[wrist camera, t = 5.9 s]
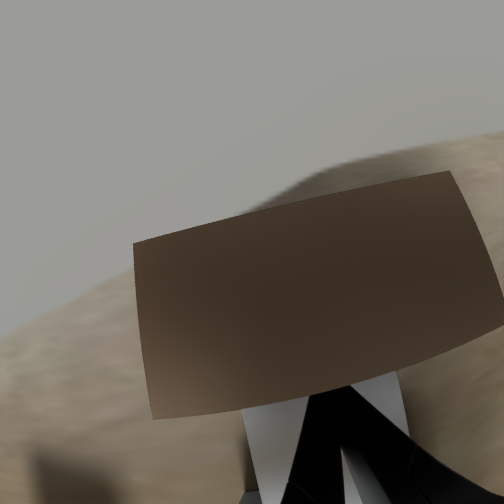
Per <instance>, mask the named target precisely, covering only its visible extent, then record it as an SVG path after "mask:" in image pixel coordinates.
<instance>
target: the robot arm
mask: <svg viewBox="0 0 504 504" xmlns="http://www.w3.org/2000/svg"><path fill="white" fill-rule="evenodd" d="M416 446H417V447H416ZM341 450H342V453H343V455H344V458H345V460H346V463H347V465H348V468H349V470H350V473H351V476H352V478H353V481H354V483H355V486H356V488H357V491H358V493H359V496H360V498H361V501H362V503H363V504H504V496H500V495H497V494H494V493H492V492H489V491H487V490H486V489H484V488H482V487H480V486H478V485H477V484H475V483H473V482H471V481H470V480H468V479H466V478H465V477H463V476H461V475H460V474H458V473H456V472H455V471H453V470H451V469H450V468H448V467H447V466H445V465H444V464H442V463H441V462H439V461H438V460H437V459H436V458H434V457H433V456H432V455H430V454H429V453H428V452H427V451H425V450H424V449H423V448H422V447H421V446H420V445H417V443H416V442H415V441H413V440H412V439H411V438H410V437H409V436H408V435H406V434H405V433H404V432H403V431H402V430H401V429H399V428H398V427H397V426H396V425H395V424H394V423H393V422H391V421H390V420H389V419H388V418H387V417H386V416H385V415H383V414H382V413H381V412H380V411H379V410H378V409H377V408H375V407H374V406H373V405H372V404H371V403H370V402H369V401H367V400H366V399H365V398H364V397H363V396H362V395H361V394H360V393H358V392H357V391H356V390H355V389H354V388H353V387H352V386H351V385H348V386H344V387H341V388H337V389H333V390H330V391H326V392H322V393H318V394H314V395H310V396H309V398H308V402H307V407H306V411H305V415H304V420H303V424H302V428H301V432H300V436H299V440H298V444H297V448H296V452H295V455H294V459H293V463H292V467H291V470H290V474H289V477H288V482H287V484H286V487H285V491H284V494H283V497H282V500H281V503H280V504H345V490H344V477H343V465H342V454H341Z"/></svg>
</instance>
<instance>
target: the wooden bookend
mask: <svg viewBox="0 0 504 504" xmlns="http://www.w3.org/2000/svg"><path fill="white" fill-rule="evenodd" d="M133 252H134V271H135V286H136V299H137V310H138V320H139V330H140V339H141V347H142V355H143V362H144V369H145V376H146V383H147V389H148V395H149V401H150V407H151V412H152V418H153V419H167V418H178V417H188V416H197V415H205V414H213V413H220V412H227V411H234V410H240V409H241V410H242V415H243V420H244V425H245V429H246V434H247V438H248V443H249V448H250V452H251V456H252V461H253V465H254V470H255V474H256V478H257V483H258V487H259V491H260V495H261V499H262V503H263V504H280V503H281V500H282V497H283V494H284V491H285V487H286V484H287V482H288V477H289V474H290V470H291V467H292V463H293V459H294V455H295V452H296V448H297V444H298V440H299V436H300V432H301V428H302V424H303V420H304V415H305V411H306V407H307V402H308V398H309V396H310V395H314V394H318V393H322V392H326V391H330V390H333V389H337V388H341V387H344V386H348V385H351V386H352V387H353V388H354V389H355V390H356V391H357V392H358V393H360V394H361V395H362V396H363V397H364V398H365V399H366V400H367V401H369V402H370V403H371V404H372V405H373V406H374V407H375V408H377V409H378V410H379V411H380V412H381V413H382V414H383V415H385V416H386V417H387V418H388V419H389V420H390V421H391V422H393V423H394V424H395V425H396V426H397V427H398V428H399V429H401V430H402V431H403V432H404V433H405V434H406V435H408V436H409V430H408V425H407V420H406V414H405V409H404V404H403V399H402V395H401V390H400V385H399V381H398V377H397V372H396V370H399V369H402V368H404V367H407V366H410V365H413V364H415V363H418V362H421V361H423V360H426V359H429V358H431V357H434V356H436V355H439V354H441V353H444V352H446V351H448V350H451V349H453V348H456V347H458V346H460V345H462V344H465V343H467V342H469V341H471V340H474V339H476V338H478V337H480V336H482V335H484V334H486V333H489V332H491V331H493V330H495V329H497V328H499V327H501V326H503V325H504V297H503V294H502V291H501V288H500V285H499V282H498V279H497V276H496V273H495V270H494V268H493V265H492V262H491V260H490V257H489V254H488V252H487V249H486V247H485V244H484V242H483V239H482V237H481V235H480V232H479V230H478V228H477V225H476V223H475V221H474V219H473V216H472V214H471V212H470V210H469V208H468V206H467V204H466V202H465V200H464V198H463V195H462V193H461V192H460V190H459V188H458V186H457V184H456V182H455V180H454V178H453V176H452V174H451V172H450V171H444V172H439V173H433V174H428V175H423V176H417V177H412V178H407V179H402V180H397V181H392V182H387V183H382V184H377V185H372V186H367V187H363V188H358V189H353V190H348V191H344V192H339V193H335V194H330V195H325V196H321V197H316V198H312V199H308V200H303V201H299V202H294V203H290V204H286V205H282V206H277V207H273V208H269V209H265V210H260V211H256V212H252V213H248V214H244V215H240V216H236V217H232V218H228V219H224V220H220V221H216V222H212V223H208V224H204V225H200V226H196V227H193V228H189V229H185V230H182V231H178V232H174V233H170V234H166V235H162V236H159V237H155V238H151V239H148V240H144V241H140V242H137V243H134V244H133ZM409 437H410V436H409ZM341 454H342V465H343V477H344V490H345V504H363V503H362V501H361V498H360V496H359V493H358V491H357V488H356V486H355V483H354V481H353V478H352V476H351V473H350V470H349V468H348V465H347V463H346V460H345V458H344V455H343V453H342V450H341Z"/></svg>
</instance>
